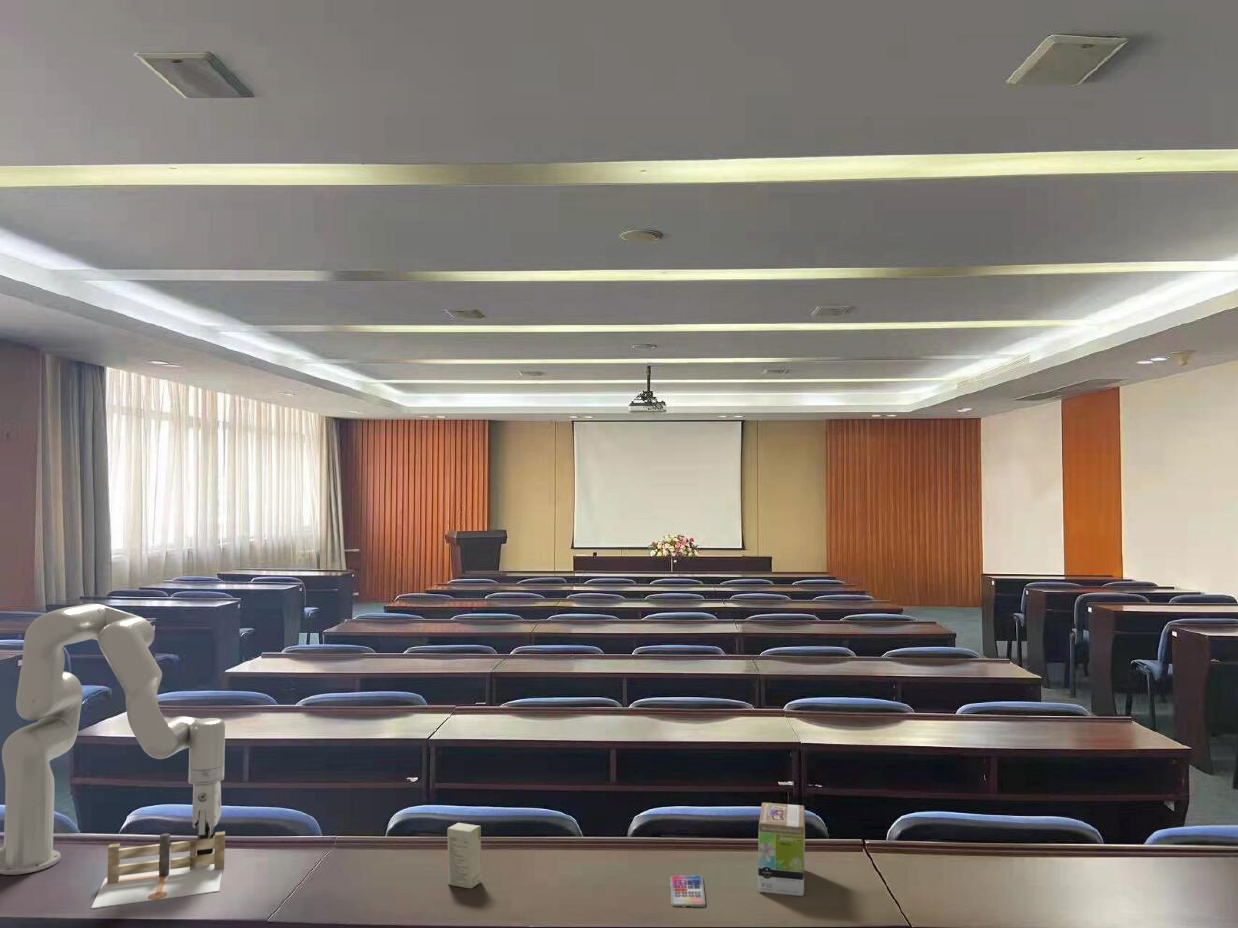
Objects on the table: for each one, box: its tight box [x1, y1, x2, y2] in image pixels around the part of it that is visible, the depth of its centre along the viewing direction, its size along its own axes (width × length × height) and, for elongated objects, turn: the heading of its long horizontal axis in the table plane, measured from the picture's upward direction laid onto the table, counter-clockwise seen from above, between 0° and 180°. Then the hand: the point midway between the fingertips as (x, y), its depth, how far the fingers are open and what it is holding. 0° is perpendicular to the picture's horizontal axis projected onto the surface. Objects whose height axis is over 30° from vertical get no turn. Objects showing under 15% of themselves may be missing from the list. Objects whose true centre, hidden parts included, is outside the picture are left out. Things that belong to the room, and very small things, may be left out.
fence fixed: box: [106, 833, 171, 884], centre depth 201 cm, size 12×2×9 cm, turn 110°
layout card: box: [91, 864, 224, 910], centre depth 197 cm, size 24×16×1 cm
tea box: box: [757, 802, 806, 897], centre depth 200 cm, size 15×10×15 cm
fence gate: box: [169, 830, 226, 870], centre depth 205 cm, size 11×2×8 cm, turn 111°
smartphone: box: [669, 875, 707, 908], centre depth 194 cm, size 7×1×15 cm
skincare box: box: [446, 822, 482, 889], centre depth 199 cm, size 6×4×12 cm
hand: (204, 854), depth 209 cm, fingers closed
